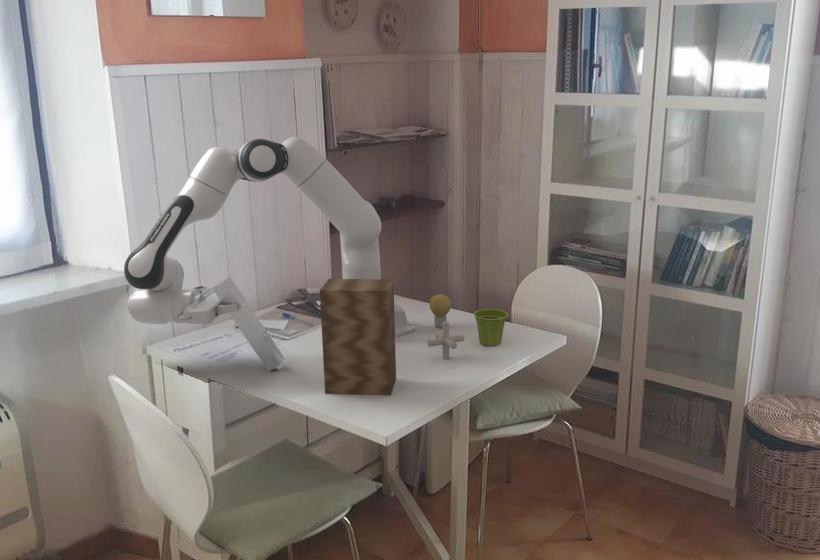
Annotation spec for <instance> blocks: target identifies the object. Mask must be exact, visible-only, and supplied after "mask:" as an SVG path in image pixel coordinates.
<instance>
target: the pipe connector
mask: <svg viewBox="0 0 820 560" xmlns="http://www.w3.org/2000/svg"><path fill="white" fill-rule="evenodd" d="M441 331H442V332H440V331H435V333H434V337H435V338H434V339H433V338H432V339H428V340H427V345H428V347H429V348H430V347H436V346H442V359H443V360H449V359H450V349H452V350H455V349H457V347H458V345H457V344H458V342H464V340H465V337H464V335H463V334H457V335H451V336H450V322H448V321H447V322H442V328H441Z"/></svg>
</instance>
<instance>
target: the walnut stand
mask: <svg viewBox="0 0 820 560" xmlns="http://www.w3.org/2000/svg"><path fill="white" fill-rule="evenodd" d="M394 282H395V281H394V279H387V278H386V279H385V278H384V279H382V278H381V279H343V278H328V279H327V280H326V282H325V283H324V284H323V286H322V287H321V288H320V289H319V300H320V301H319V302H320V319H321V320H320V322H321V323H320V324H321V338H322V344H321V345H322V357H323V358H322V361H323V378H324V379H323V382H324V394H328V395H329V394H331V395H333V394H334V395H363V396H364V395H367V396H391V395H392V393H393V389H394V386H395V384H396V381H397V372H396V371H397V367H396V366H397V365H396V359H397V358H396V337H395V316H394V303H395V283H394Z"/></svg>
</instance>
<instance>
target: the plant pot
mask: <svg viewBox="0 0 820 560" xmlns="http://www.w3.org/2000/svg"><path fill="white" fill-rule="evenodd" d="M473 316H474V317H475V321H476V325H477V333H478V342H479V344H480V345H482V346H485V347H490V346H492V347H497V346H499V345H501V343H502V340H503V333H504V328H505V322H506V320H507V317H508V316H509V313H507V312H506V311H504V310H502V309H494V308H492V309H491V308H484V309H483V308H482V309H479V310H476V311H474V312H473Z"/></svg>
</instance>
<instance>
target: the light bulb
mask: <svg viewBox="0 0 820 560" xmlns="http://www.w3.org/2000/svg"><path fill="white" fill-rule="evenodd" d="M451 307H452V302H451V300H450V298H449V297H448V296H447V295H445V294H441V293H439V294H436V295H435V294H434V296H432V297H431V298H430V300H429V309H430V311H431V312H432V314H433V315H434V316H433V323H434V327H436V328H440V329H442V322H448V320H447V318H448V317H447V314H448V313H449V312H450V310H451Z"/></svg>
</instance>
